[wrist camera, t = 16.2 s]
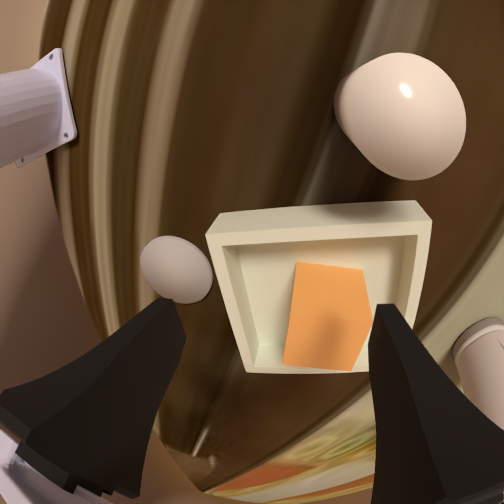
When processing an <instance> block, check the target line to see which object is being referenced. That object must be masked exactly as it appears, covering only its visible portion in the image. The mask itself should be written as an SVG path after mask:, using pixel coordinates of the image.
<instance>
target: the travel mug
mask: <svg viewBox="0 0 504 504" xmlns="http://www.w3.org/2000/svg"><path fill="white" fill-rule="evenodd" d="M453 358H454V361H455V364H456V366H457V370H458V374H459V377H460V380H461V384H462V387H463V391H464V395H465V396H466V397H467V398H468V399H469V400H470V401H471V402H472V403H473V404H474V405H475V406H476V407H477V408H478V409H479V410H480V411H481V412H482V413H484V414H485V415H486V416H487V417H488V418H489V419H490V420H491V421H493V422H494V423H495V424H496V425H498V426H499V427H500V428H501V429H503V430H504V322H503V321H502V320H501V319H499V318H495V317H493V318H487V319H484V320H481V321H479V322H477V323H475V324H474V325H472V326H471V327H469V328H468V329H467V330H466V331H465V332H464V333H463V334H462V335H461V336H460V337H459V339H458V340H457V342H456V343H455V345H454V348H453ZM503 494H504V492H503ZM499 504H504V500H503V502H501V503H499Z"/></svg>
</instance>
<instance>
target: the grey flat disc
mask: <svg viewBox="0 0 504 504" xmlns="http://www.w3.org/2000/svg"><path fill="white" fill-rule="evenodd" d="M140 265H141V270H142V273H143V275H144V277H145V279H146V281H147V282H148V284H149V285H150V286H151V287H152V288H153V289H154V290H155V291H156V292H157V293H158V294H160V295H161V296H163V297H164V298H168V299H173V301H174V302H177V303H185V304H187V303H194V302H197V301H199V300H201V299H203V298H204V297H205V296H206V295H207V293H208V292H209V290H210V288H211V285H212V281H213V273H212V269H211V266H210V263H209V262H208V260H207V258H206V257H205V255H204V254H203V253H202V252H201V251H200V250H199V249H198V248H197V247H196V246H194V245H193V244H192V243H190V242H188V241H186V240H184V239H182V238H179V237H174V236H162V237H158V238H155V239H154V240H152V241H151V242H149V244H148V245H147V246H146V247H145V248H144V250H143V251H142V254H141V258H140Z"/></svg>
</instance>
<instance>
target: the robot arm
mask: <svg viewBox="0 0 504 504" xmlns="http://www.w3.org/2000/svg"><path fill="white" fill-rule="evenodd" d="M67 134H68V137H67ZM76 136H77V130H76V126H75V121H74V117H73V112H72V108H71V103H70V98H69V93H68V87H67V81H66V75H65V69H64V62H63V55H62V49H61V48H56V49H54V50H53V51H51V52H50V53H49V54H47V55H46V56H45V57H44V58H42V59H41V60H40V61H39V62H37V63H36V64H35V65H34V66H33V67H32V68H30V69H28V70H20V71H14V72H9V73H4V74H0V168H2V167H3V166H6V165H8V164H10V163H12V162H14V161H15V163H16V166H17V167H18V168H20V167H22V166H23V165H25V164H27V163H29V162H30V161H32V160H34V159H36V158H37V157H39V156H41V155H43V154H45V153H47V152H49V151H51V150H53V149H55V148H57V147H59V146H61V145H63V144H65V143H67V142H69V141H71V140H73V139H75V138H76ZM185 340H186V335H185V332H184V329H183V327H182V324H181V321H180V318H179V316H178V313H177V310H176V307H175V304H174V301H173V299H168V298H158V299H156V300H155V301H154V302H152V303H151V304H150V305H148V306H147V307H146V308H145V309H143V310H142V311H141V312H140V313H138V314H137V315H136V316H135V317H133V318H132V319H131V320H130V321H128V322H127V323H126V324H125V325H123V326H122V327H121V328H120V329H119V330H117V331H116V332H115V333H113V334H112V335H111V336H109V337H108V338H107V339H105V340H104V341H103V342H101V343H100V344H99V345H97V346H96V347H95V348H93V349H92V350H90V351H89V352H87V353H86V354H84V355H83V356H81V357H79V358H78V359H76V360H75V361H73V362H71V363H69V364H68V365H66V366H64V367H62V368H60V369H58V370H56V371H54V372H52V373H50V374H48V375H46V376H43V377H41V378H39V379H36V380H34V381H31V382H28V383H26V384H22V385H19V386H16V387H12V388H9V389H5V390H4V391H3V392H2V393H1V395H0V423H1V424H2V425H4V426H5V427H6V428H7V429H8V430H9V431H11V432H12V433H13V434H14V435H15V436H16V437H18V438H19V439H20V440H21V442H20V444H19V443H18V442H17V441H15V440H14V439H13V438H12V437H11V436H9V435H8V434H7V433H6V432H4V431H3V430H2V429H0V494H1V495H2V496H3V498H4V499H5V501H6V502H7V504H113V503H111V502H109V501H107V500H105V499H103V498H101V495H102V492H104V493H106V494H108V495H112V493H113V491H115V492H117V493H119V494H122V495H124V496H126V497H129V498H131V499H134V498H137V497H139V496H140V487H141V478H142V471H143V465H144V460H145V455H146V450H147V446H148V442H149V438H150V434H151V430H152V427H153V424H154V420H155V417H156V414H157V411H158V409H159V406H160V404H161V401H162V399H163V397H164V395H165V392H166V390H167V388H168V386H169V383H170V381H171V379H172V377H173V374H174V372H175V370H176V368H177V365H178V363H179V360H180V357H181V354H182V351H183V347H184V344H185ZM368 362H369V375H370V382H371V389H372V396H373V404H374V412H375V421H376V461H375V474H374V484H373V492H372V499H371V504H499V503H501V502H503V500H504V494H503V492H504V430H503V429H501V428H500V427H499V426H498V425H496V424H495V423H494V422H493V421H491V420H490V419H489V418H488V417H487V416H486V415H485V414H484V413H482V412H481V411H480V410H479V409H478V408H477V407H476V406H475V405H474V404H473V403H472V402H471V401H470V400H469V399H468V398H467V397H466V396H465V395H464V394H463V393H462V392H461V391H460V390H459V389H458V388H457V387H456V385H455V384H454V383H453V382H452V381H451V380H450V379H449V378H448V376H447V375H446V374H445V373H444V371H443V370H442V369H441V368H440V366H439V365H438V364H437V363H436V361H435V360H434V359H433V357H432V356H431V355H430V354H429V352H428V351H427V349H426V348H425V347H424V345H423V344H422V343H421V341H420V340H419V338H418V337H417V336H416V334H415V333H414V331H413V330H412V328H411V327H410V326H409V324H408V323H407V321H406V320H405V318H404V317H403V315H402V314H401V312H400V311H399V310H398V308H397V307H396V305H395V304H394V303H393V304H377V306H376V311H375V315H374V320H373V325H372V329H371V333H370V337H369V341H368Z"/></svg>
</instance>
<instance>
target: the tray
mask: <svg viewBox="0 0 504 504" xmlns="http://www.w3.org/2000/svg"><path fill="white" fill-rule="evenodd" d="M431 226H432V220H431V219H430V217H429V216H428V215H427V214H426V213H425V211H424V210H423V209H422V208H421V206H420V205H419V204H418V203H417V202H416V200H413V201H384V202H361V203H342V204H326V205H310V206H297V207H283V208H271V209H260V210H248V211H238V212H228V213H220V214H219V215H218V217H217V218H216V220H215V221H214V223H213V224H212V225H211V227H210V228H209V230H208V231H207V233H206V234H205V235H206V239H207V243H208V247H209V250H210V254H211V257H212V261H213V265H214V268H215V272H216V275H217V279H218V282H219V286H220V289H221V292H222V296H223V299H224V303H225V306H226V309H227V313H228V316H229V319H230V322H231V326H232V329H233V332H234V335H235V339H236V342H237V345H238V348H239V351H240V355H241V358H242V361H243V364H244V367H245V370H246V372H253V373H284V374H316V373H346V372H363V371H369V362H368V341H369V337H370V333H371V329H372V326H371V328H370V331H369V333H368V335H367V338H366V340H365V342H364V345H363V347H362V349H361V351H360V354H359V356H358V358H357V360H356V362H355V365H354V367H353V369H352V371H343V370H330V369H319V368H309V367H300V366H291V365H284V364H282V362H283V355H284V348H285V341H286V334H287V327H288V320H289V312H290V305H291V298H292V291H293V284H294V277H295V269H296V262H305V263H313V264H321V265H330V266H338V267H346V268H355V269H362V270H363V274H364V279H365V283H366V288H367V293H368V298H369V303H370V308H371V314H372V319H373V320H374V315H375V311H376V306H377V304H393V303H394V304H395V305H396V307H397V308H398V310H399V311H400V312H401V314H402V315H403V317H404V318H405V320H406V321H407V323H408V324H409V326H410V327H411V328H413V325H414V321H415V317H416V313H417V308H418V304H419V299H420V295H421V290H422V285H423V280H424V274H425V269H426V263H427V257H428V250H429V243H430V235H431ZM372 325H373V323H372Z"/></svg>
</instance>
